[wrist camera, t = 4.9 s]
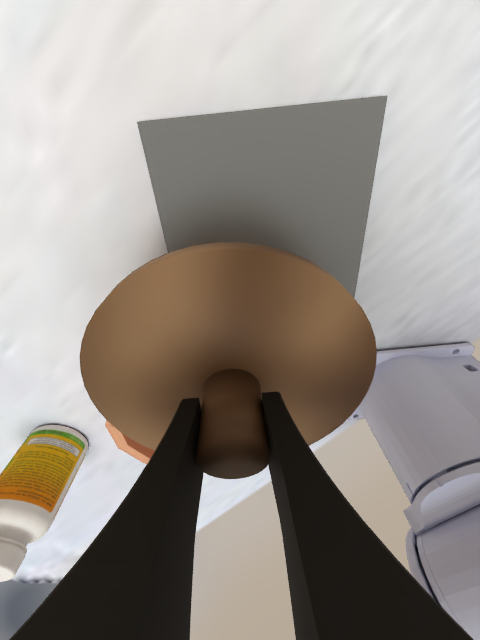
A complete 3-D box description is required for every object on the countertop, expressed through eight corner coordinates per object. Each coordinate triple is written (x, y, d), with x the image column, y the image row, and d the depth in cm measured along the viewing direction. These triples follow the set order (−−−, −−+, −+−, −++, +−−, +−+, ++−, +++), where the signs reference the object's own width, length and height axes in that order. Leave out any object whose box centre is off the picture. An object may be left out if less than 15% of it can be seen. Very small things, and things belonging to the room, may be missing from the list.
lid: (404, 230, 8) (516, 279, 5) (341, 442, 15) (372, 521, 12) (31, 254, 8) (-93, 319, 5) (135, 456, 15) (110, 539, 12)
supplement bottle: (25, 420, 24) (-84, 558, 15) (86, 425, 24) (14, 559, 16) (37, 453, 26) (-50, 586, 18) (92, 457, 27) (33, 586, 19)
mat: (382, 98, 13) (387, 95, 12) (348, 310, 19) (351, 313, 18) (140, 123, 13) (136, 121, 12) (187, 325, 19) (186, 329, 19)
